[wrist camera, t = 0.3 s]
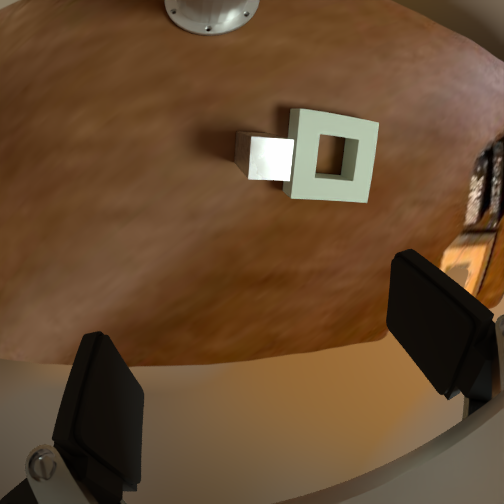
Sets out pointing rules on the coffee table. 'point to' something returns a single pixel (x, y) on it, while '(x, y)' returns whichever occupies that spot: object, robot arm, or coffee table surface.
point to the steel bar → (263, 155)
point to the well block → (354, 159)
